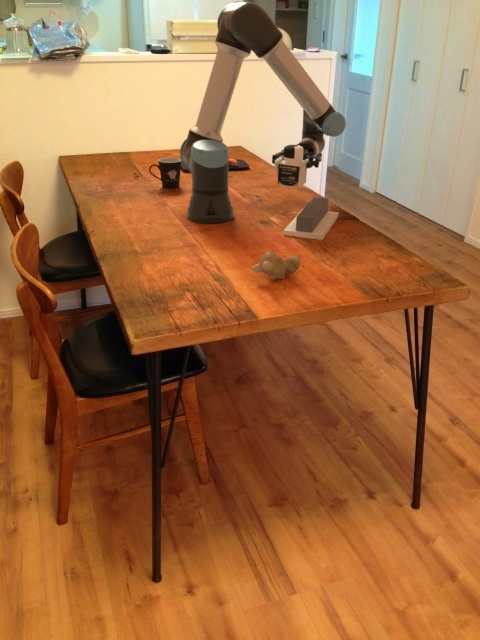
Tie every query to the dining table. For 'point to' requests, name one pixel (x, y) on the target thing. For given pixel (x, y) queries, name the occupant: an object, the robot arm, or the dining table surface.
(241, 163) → the sushi plate
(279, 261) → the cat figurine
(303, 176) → the medicine bottle
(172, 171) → the coffee mug
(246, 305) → the dining table surface
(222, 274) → the dining table surface
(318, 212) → the stand
